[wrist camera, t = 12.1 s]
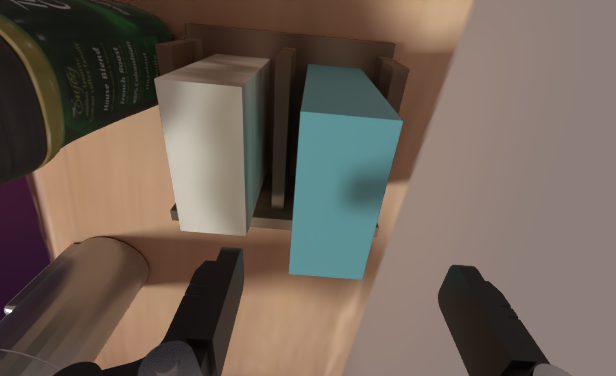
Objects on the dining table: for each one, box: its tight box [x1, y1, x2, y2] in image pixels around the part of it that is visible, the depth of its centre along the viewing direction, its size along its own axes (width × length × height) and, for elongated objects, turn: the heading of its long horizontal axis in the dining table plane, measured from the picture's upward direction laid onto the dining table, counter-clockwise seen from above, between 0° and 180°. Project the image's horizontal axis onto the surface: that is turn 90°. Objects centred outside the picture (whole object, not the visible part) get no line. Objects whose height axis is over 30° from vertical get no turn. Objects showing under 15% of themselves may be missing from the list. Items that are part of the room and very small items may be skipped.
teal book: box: [289, 64, 403, 280], centre depth 21 cm, size 4×10×14 cm, turn 175°
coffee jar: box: [0, 0, 174, 185], centre depth 17 cm, size 10×8×19 cm
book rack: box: [154, 23, 409, 237], centre depth 23 cm, size 17×14×12 cm
